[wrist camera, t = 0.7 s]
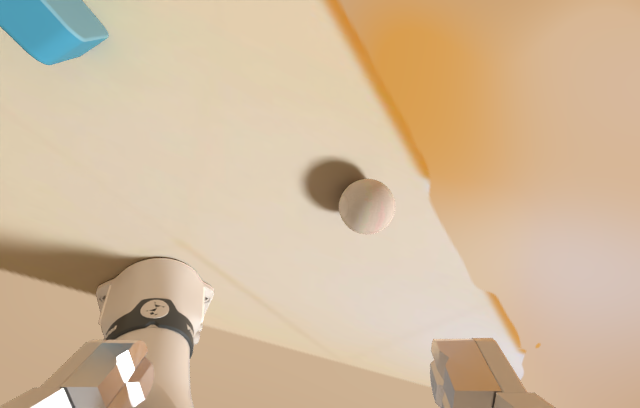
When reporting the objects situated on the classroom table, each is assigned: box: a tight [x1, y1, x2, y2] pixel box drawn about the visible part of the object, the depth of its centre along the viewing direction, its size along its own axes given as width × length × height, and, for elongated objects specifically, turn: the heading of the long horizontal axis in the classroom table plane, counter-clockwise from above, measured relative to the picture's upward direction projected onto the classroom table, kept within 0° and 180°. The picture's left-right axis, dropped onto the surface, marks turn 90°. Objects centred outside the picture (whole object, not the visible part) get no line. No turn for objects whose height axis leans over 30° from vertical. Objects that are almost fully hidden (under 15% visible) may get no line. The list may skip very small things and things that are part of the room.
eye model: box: [339, 179, 395, 234], centre depth 58 cm, size 10×10×10 cm
